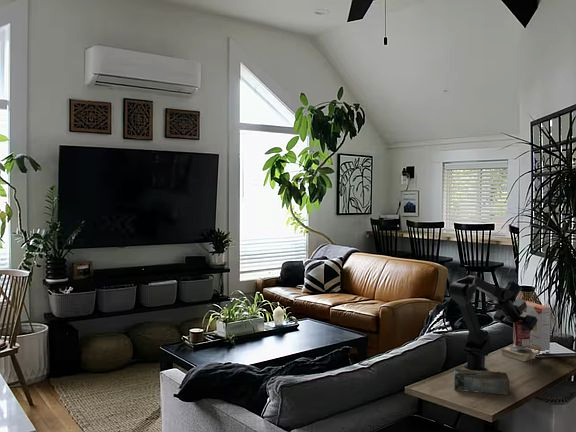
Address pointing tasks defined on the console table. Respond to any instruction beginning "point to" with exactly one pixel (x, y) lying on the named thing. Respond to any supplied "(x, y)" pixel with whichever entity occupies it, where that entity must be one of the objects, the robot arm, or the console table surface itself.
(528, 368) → the console table surface
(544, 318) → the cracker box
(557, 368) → the console table surface
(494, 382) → the grey rectangular block
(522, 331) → the soda can
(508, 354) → the beige square dish
